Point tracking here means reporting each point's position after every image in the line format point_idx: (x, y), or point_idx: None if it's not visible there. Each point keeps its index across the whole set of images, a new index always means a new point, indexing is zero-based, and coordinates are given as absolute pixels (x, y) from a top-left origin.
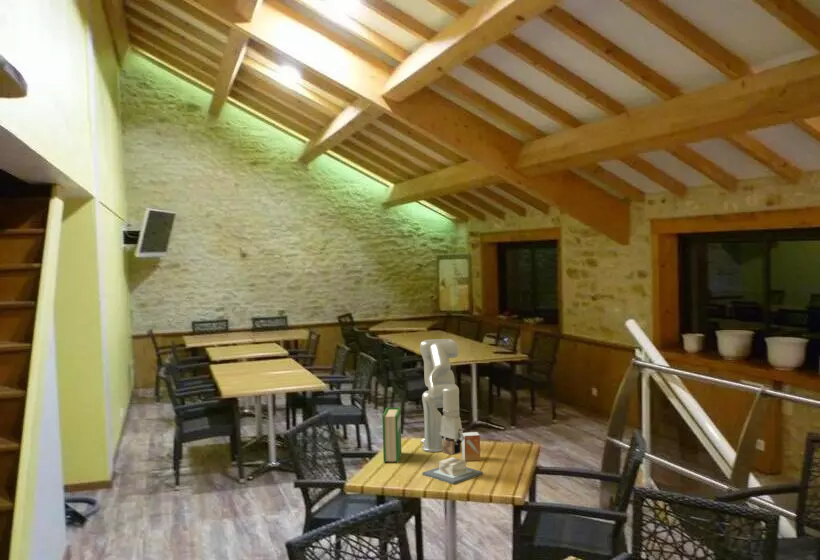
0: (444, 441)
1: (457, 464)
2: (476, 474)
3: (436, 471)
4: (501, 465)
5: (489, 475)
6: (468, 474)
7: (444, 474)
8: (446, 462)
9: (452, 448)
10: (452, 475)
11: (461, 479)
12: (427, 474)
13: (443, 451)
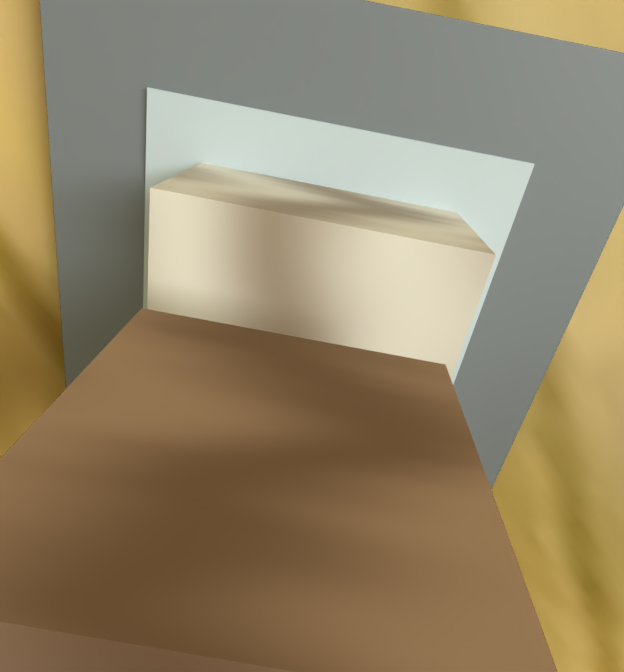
0: (446, 658)
1: (152, 298)
2: (68, 372)
3: (494, 200)
4: None
5: (16, 435)
6: (109, 319)
7: (330, 150)
8: (335, 265)
9: (54, 418)
10: (207, 163)
11: (51, 129)
12: (579, 44)
13: (439, 382)
